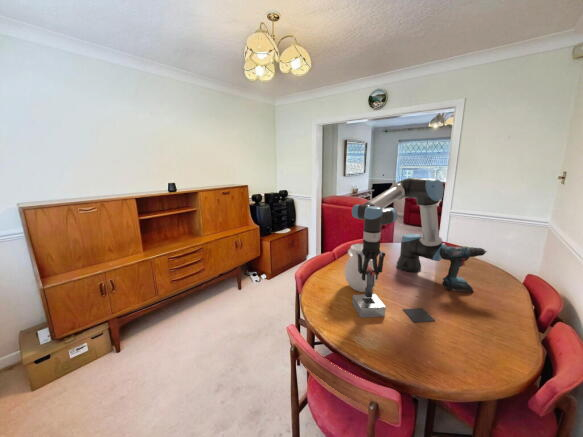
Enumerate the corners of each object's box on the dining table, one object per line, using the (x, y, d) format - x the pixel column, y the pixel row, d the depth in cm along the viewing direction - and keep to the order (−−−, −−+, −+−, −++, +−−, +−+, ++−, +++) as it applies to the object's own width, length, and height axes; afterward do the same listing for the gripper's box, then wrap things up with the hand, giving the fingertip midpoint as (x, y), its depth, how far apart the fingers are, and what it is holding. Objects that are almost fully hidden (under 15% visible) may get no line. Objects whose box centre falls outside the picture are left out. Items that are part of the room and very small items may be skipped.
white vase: (382, 286, 146) (385, 246, 140) (368, 299, 133) (370, 255, 127) (354, 277, 158) (355, 239, 152) (338, 288, 145) (339, 247, 139)
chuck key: (361, 291, 126) (363, 265, 123) (368, 291, 126) (370, 264, 123) (368, 301, 117) (370, 272, 114) (375, 300, 118) (377, 272, 114)
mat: (402, 309, 123) (403, 309, 123) (422, 308, 124) (422, 307, 124) (414, 322, 113) (414, 321, 113) (435, 321, 114) (435, 320, 114)
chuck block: (352, 303, 129) (352, 295, 128) (374, 302, 130) (375, 293, 129) (360, 317, 117) (360, 308, 116) (385, 316, 118) (385, 306, 117)
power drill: (485, 293, 136) (492, 250, 130) (439, 290, 140) (444, 248, 135) (476, 285, 144) (483, 244, 139) (433, 282, 149) (438, 243, 143)
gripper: (356, 243, 111) (354, 290, 116) (392, 241, 112) (389, 288, 118) (351, 238, 118) (350, 283, 124) (385, 236, 120) (382, 281, 125)
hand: (369, 285), depth 121 cm, fingers closed on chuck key, 3 cm apart
